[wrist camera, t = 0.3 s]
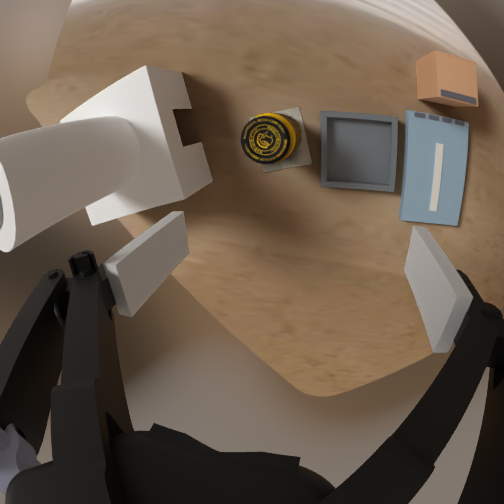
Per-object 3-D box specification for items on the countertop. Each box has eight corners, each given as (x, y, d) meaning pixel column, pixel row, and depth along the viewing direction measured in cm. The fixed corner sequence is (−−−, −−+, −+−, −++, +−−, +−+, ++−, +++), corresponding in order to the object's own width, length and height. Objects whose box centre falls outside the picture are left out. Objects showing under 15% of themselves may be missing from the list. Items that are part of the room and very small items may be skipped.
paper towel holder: (181, 72, 36) (9, 58, 11) (213, 181, 44) (71, 282, 18) (98, 115, 43) (-46, 151, 17) (126, 205, 50) (0, 289, 24)
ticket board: (405, 110, 32) (408, 110, 30) (464, 122, 29) (469, 122, 28) (398, 216, 39) (401, 220, 37) (453, 222, 36) (457, 226, 35)
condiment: (299, 107, 36) (289, 102, 25) (312, 163, 39) (307, 181, 29) (249, 117, 38) (221, 119, 28) (263, 172, 41) (241, 193, 31)
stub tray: (320, 111, 35) (320, 110, 33) (394, 117, 33) (397, 117, 31) (320, 183, 40) (320, 186, 38) (391, 188, 37) (394, 192, 36)
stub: (415, 60, 28) (435, 50, 21) (451, 69, 26) (476, 62, 19) (417, 99, 30) (438, 96, 23) (453, 106, 29) (478, 106, 22)
